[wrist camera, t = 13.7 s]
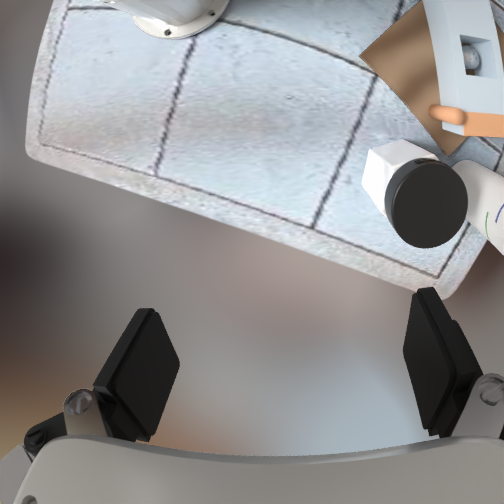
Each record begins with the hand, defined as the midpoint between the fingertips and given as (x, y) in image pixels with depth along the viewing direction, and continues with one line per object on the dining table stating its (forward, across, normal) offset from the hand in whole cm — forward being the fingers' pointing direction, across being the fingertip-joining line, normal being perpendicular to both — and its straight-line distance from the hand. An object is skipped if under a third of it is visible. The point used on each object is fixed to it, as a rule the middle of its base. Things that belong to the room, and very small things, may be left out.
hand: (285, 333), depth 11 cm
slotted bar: (+27, -22, -12) cm, 37 cm away
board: (+28, -22, -12) cm, 38 cm away
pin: (+28, -18, -5) cm, 34 cm away
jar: (+28, -13, +2) cm, 31 cm away
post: (+28, -22, -12) cm, 38 cm away
